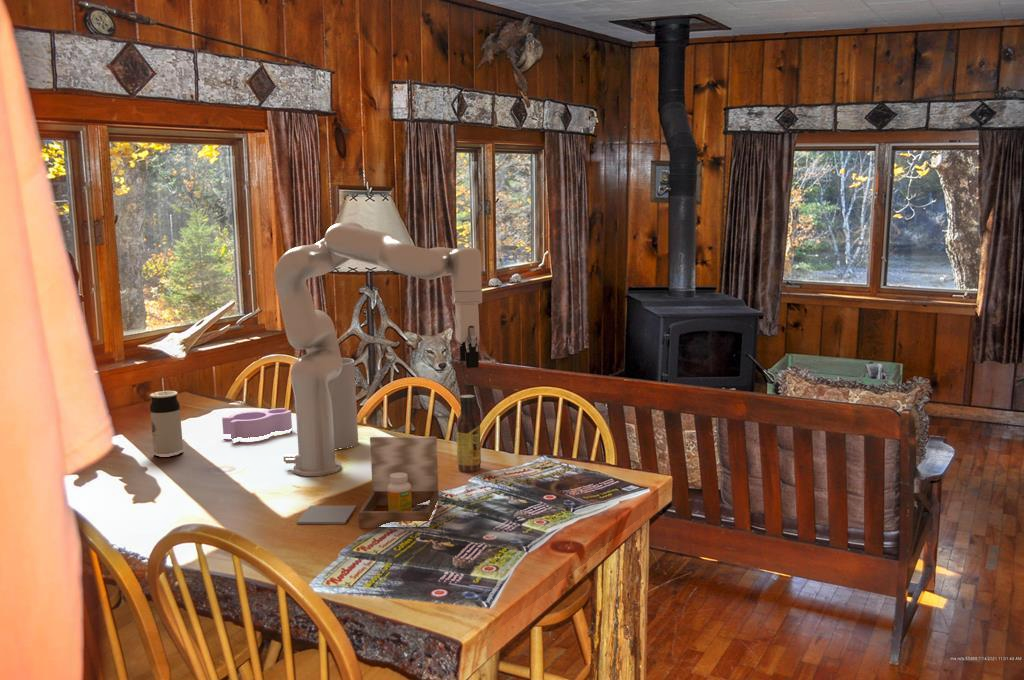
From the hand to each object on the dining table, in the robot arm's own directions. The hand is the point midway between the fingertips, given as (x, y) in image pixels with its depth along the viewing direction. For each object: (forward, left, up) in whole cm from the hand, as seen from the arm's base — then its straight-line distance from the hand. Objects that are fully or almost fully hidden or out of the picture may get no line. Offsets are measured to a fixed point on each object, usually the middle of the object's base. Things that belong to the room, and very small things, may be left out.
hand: (469, 364), depth 240 cm
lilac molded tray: (-71, +42, -30) cm, 88 cm away
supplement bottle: (-14, -30, -30) cm, 44 cm away
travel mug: (-91, +22, -30) cm, 98 cm away
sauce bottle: (-2, +6, -30) cm, 30 cm away
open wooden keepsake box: (-14, -30, -30) cm, 44 cm away
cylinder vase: (-44, +31, -30) cm, 61 cm away
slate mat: (-31, -30, -30) cm, 52 cm away
